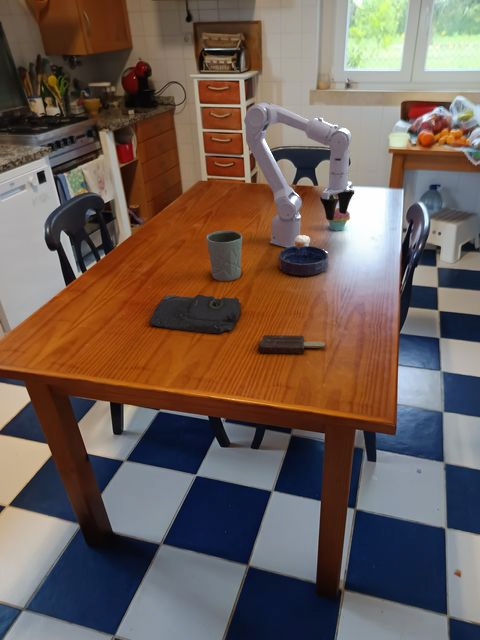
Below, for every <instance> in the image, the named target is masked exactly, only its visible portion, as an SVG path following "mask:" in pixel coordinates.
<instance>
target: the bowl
mask: <svg viewBox="0 0 480 640" xmlns="http://www.w3.org/2000/svg"><path fill="white" fill-rule="evenodd" d="M278 267H279V269H280V270H281V271H283V272H284V273H285V274H289V275H293V276H297V277H298V276H300V277H305V276H306V277H307V276H314V275H318V274H321V273H323V272H324V271H326V270H327V269H328V267H329V252H328V251H326V249H323V248H321V247H318V246H314V245H309V254H308V264H297V263H296V248H295V246H292V247H288V248H286V247H284V248H283V249H282V250H281V251H279V253H278Z"/></svg>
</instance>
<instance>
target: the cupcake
mask: <svg viewBox="0 0 480 640" xmlns="http://www.w3.org/2000/svg"><path fill="white" fill-rule="evenodd" d="M335 196H336V195H334V196H333V197H334V198H335V199H337V197H335ZM325 219H326V220H327V221H328V223H329V224H328V225H329V227H330V230H332V231H342V230H344V229H345V226H346V224H347V221H349V220H350V219H351V214H350V212H349V211H348V210H347V212H346V214H343V213H340V212H339V207H336V208H335V213H334V219H333V220H328V219H327V218H326V217H325Z"/></svg>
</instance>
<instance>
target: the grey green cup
mask: <svg viewBox="0 0 480 640" xmlns="http://www.w3.org/2000/svg"><path fill="white" fill-rule="evenodd" d="M205 238H206V244H207V250H208V253H209V262H210V266H211V267H210V268H211V269H210V270H211V275H212V278H213V279H214V280H217V281H218V282H219V281H220V282H230V281H235V280H237V279H239V278H240V277H241V275H242V250H243V249H242V248H243V247H242V246H243V235H242V233H240V232H238V231H235V230H218V231H213V232H210V233H209V234H207V235H206V237H205Z"/></svg>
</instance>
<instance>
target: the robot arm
mask: <svg viewBox="0 0 480 640" xmlns="http://www.w3.org/2000/svg"><path fill="white" fill-rule="evenodd" d="M243 122H244V124H245V125H244V126H245V142H246V145H247V146H248V149H249V150H250V152H251V154H252V156H253V157H254V160H255V162H256V163H257V165H258V167H259V169H260V170H261V173H262V174H263V177H264V178H265V181H266V182H267V184H268V186H269V188H270V189H271V191H272V193H273V199H274V204H275V207H276V213H277V214H276V215H274V216H273V217H272V220H271V224H270V227H271V228H270V229H271V230H270V233H271V241H269V244H272V245H275V246H278V247H279V246H280V247H283V248H288V247H292V246H295V238H296V237H297V236H299V235H301V219H302V218H301V214H300V210H301V209H302V206H303V199H302V198H301V196H299V194H297V193H296V192H295V190H294V188H293V187H291V186H290V185H289V184H288V183H287V180H286V179H285V176H284V175H283V172H282V171H281V169H280V166H279V165H278V163H277V161H276V159H275V157H274V156H273V154H272V152H271V150H270V147H269V146H268V144H267V142H266V139H265V138H266V134H267V131H268V127H269V126H270V125H275V124H279V123H280V124H283V125H285V126H288V127H292V128H294V129H296V130H300V131H302V132H304V133H305V136H306V137H307V139H310V140H312V141H314V142H316V143H319V144H321V145H324V146H327V147H328V146H329V149H330V156H329V170H328V171H329V173H328V185H327V187H326V189H325V190H324V191H322V193H321V196H319V200H320V202H321V204H322V205H323V209H324V214H325V219H326V218H327V219H328V220H333V219H334V213H335V208H337V204H338V208H339V212H340V213H343V214H346V212H347V211H348V208H349V205H350V202H351V200H352V198H353V196H354V195H355V190H354V189H353V187H354V186H353V185H354V182H353V181H348V180H349V168H350V167H349V166H350V144H351V142H352V134H351V132H350V131H349V129H347V128H346V127H344V126H341V127H339V125H338V124H334V125H333V124H331V123H328V122H326V121H324V117H322V116H321V117H318V118H317V117H314V118H312V119H308V118H305V117H303V116H301V115H299V114H297V113H294V112H293V111H291V110H289V109H286V108H284V107H282V106H280V105H278V104H275V103H270V102H269V101H266V100H265V101H260V102H258V103H257V104H254V105H251V106H250V107H249V108H248V109H247V111H246V114H245V116H244V120H243ZM336 195H337V198H336V197H335V198H336V199H335V198H334V196H336ZM327 219H326V220H327ZM328 220H327V221H328Z"/></svg>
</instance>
